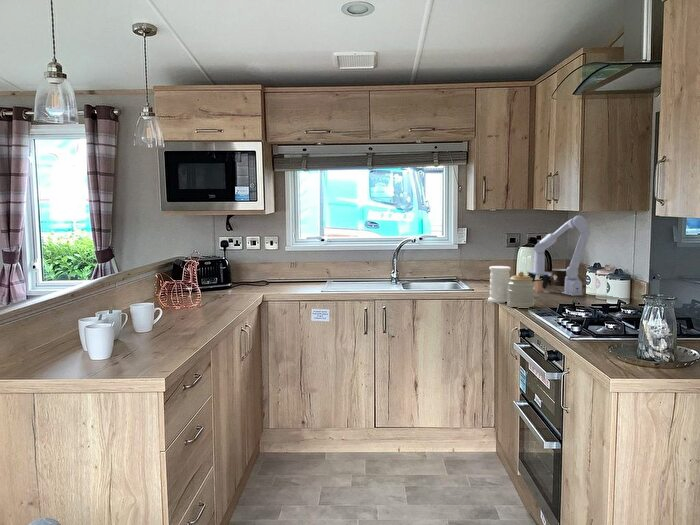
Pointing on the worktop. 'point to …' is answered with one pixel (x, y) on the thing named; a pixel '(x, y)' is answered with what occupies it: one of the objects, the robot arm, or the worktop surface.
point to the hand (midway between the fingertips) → (538, 287)
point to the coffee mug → (559, 276)
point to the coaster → (542, 292)
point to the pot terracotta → (538, 286)
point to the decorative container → (499, 283)
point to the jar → (520, 291)
